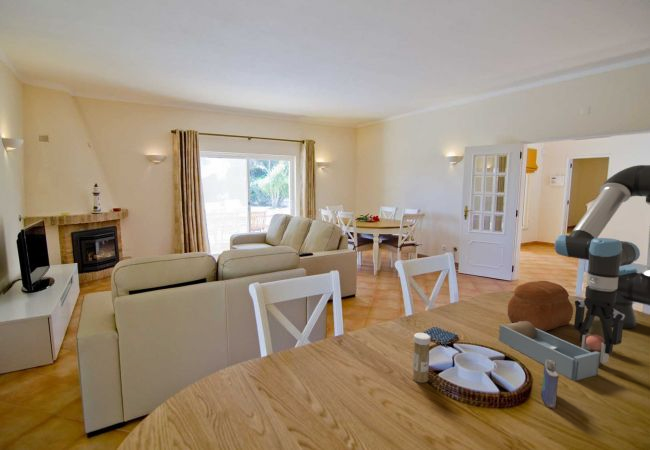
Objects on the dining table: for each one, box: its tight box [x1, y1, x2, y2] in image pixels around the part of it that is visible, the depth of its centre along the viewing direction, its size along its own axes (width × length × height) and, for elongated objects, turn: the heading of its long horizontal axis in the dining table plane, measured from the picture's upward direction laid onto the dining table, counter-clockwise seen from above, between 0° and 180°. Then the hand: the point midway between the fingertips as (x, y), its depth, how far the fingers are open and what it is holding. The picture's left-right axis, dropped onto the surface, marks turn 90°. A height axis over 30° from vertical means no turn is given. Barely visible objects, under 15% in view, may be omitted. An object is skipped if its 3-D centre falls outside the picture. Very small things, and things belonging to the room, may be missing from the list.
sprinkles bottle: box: [412, 332, 431, 384], centre depth 98 cm, size 5×5×14 cm
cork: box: [587, 316, 604, 350], centre depth 118 cm, size 6×6×11 cm
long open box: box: [498, 321, 601, 382], centre depth 111 cm, size 10×27×8 cm, turn 20°
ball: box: [586, 335, 605, 352], centre depth 107 cm, size 5×5×5 cm
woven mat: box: [423, 326, 460, 345], centre depth 125 cm, size 10×11×2 cm
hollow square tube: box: [587, 349, 603, 366], centre depth 107 cm, size 3×3×4 cm
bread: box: [507, 280, 574, 332], centre depth 138 cm, size 18×22×17 cm
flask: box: [540, 359, 560, 410], centre depth 89 cm, size 9×3×11 cm, turn 151°
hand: (594, 357), depth 108 cm, fingers closed on ball, 5 cm apart
